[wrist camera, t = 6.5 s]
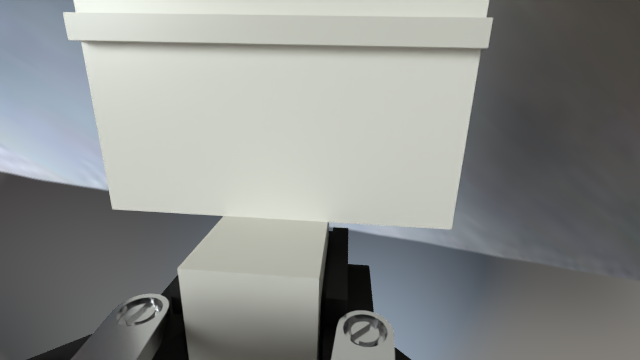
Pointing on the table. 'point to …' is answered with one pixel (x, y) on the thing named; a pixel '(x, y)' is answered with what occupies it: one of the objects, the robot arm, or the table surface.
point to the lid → (279, 139)
